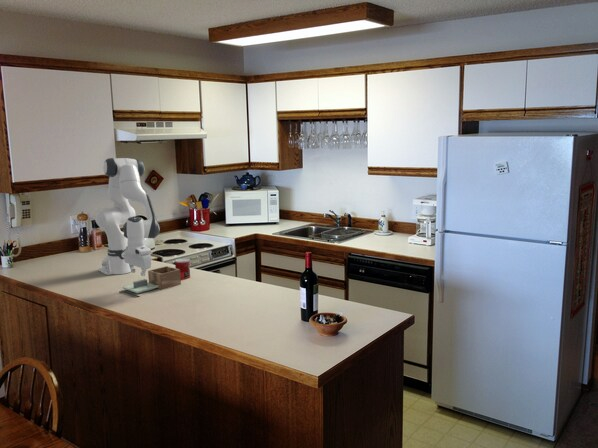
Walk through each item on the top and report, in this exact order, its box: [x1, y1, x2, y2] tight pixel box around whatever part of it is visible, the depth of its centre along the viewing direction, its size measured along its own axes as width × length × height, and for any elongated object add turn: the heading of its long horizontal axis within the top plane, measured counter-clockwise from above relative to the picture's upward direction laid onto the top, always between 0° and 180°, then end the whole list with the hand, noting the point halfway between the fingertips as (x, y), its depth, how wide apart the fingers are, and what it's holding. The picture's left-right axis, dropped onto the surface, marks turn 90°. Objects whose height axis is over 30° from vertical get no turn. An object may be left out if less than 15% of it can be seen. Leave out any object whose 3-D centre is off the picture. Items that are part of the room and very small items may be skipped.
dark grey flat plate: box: [118, 290, 141, 298], centre depth 288 cm, size 16×16×1 cm
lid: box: [122, 278, 158, 294], centre depth 287 cm, size 13×13×5 cm
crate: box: [147, 265, 182, 290], centre depth 294 cm, size 12×12×9 cm
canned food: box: [174, 258, 191, 280], centre depth 308 cm, size 8×8×11 cm
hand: (138, 274), depth 286 cm, fingers open, 8 cm apart
